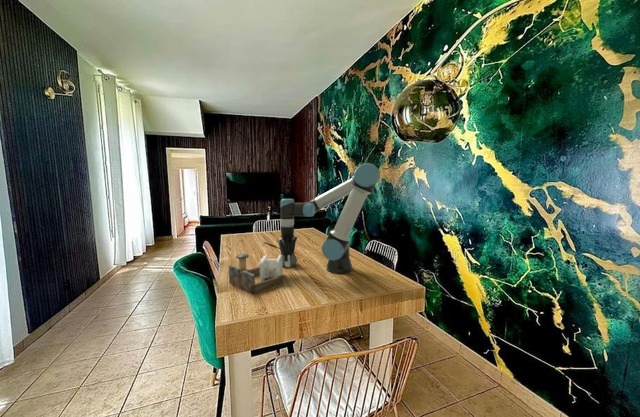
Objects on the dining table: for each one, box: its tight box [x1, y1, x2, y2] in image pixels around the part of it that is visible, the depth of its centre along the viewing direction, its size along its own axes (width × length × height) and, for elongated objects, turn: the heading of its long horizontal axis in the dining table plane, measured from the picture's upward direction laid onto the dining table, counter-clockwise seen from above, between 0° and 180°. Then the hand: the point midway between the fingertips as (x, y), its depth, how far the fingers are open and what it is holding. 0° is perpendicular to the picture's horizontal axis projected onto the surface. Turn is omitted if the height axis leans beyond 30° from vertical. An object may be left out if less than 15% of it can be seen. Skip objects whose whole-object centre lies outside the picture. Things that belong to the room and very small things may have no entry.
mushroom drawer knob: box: [235, 253, 250, 272], centre depth 151 cm, size 7×7×10 cm
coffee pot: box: [262, 241, 298, 268], centre depth 165 cm, size 21×12×15 cm, turn 93°
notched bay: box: [228, 264, 284, 295], centre depth 134 cm, size 22×18×9 cm
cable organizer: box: [258, 254, 284, 282], centre depth 141 cm, size 15×11×12 cm
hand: (287, 266), depth 150 cm, fingers closed
